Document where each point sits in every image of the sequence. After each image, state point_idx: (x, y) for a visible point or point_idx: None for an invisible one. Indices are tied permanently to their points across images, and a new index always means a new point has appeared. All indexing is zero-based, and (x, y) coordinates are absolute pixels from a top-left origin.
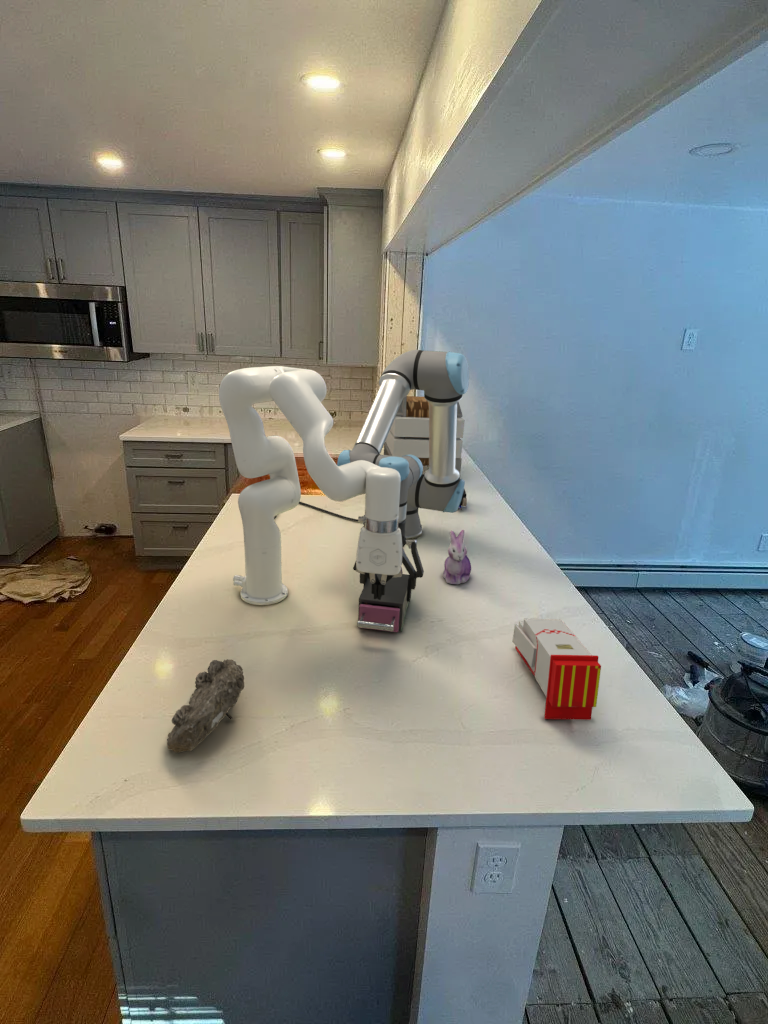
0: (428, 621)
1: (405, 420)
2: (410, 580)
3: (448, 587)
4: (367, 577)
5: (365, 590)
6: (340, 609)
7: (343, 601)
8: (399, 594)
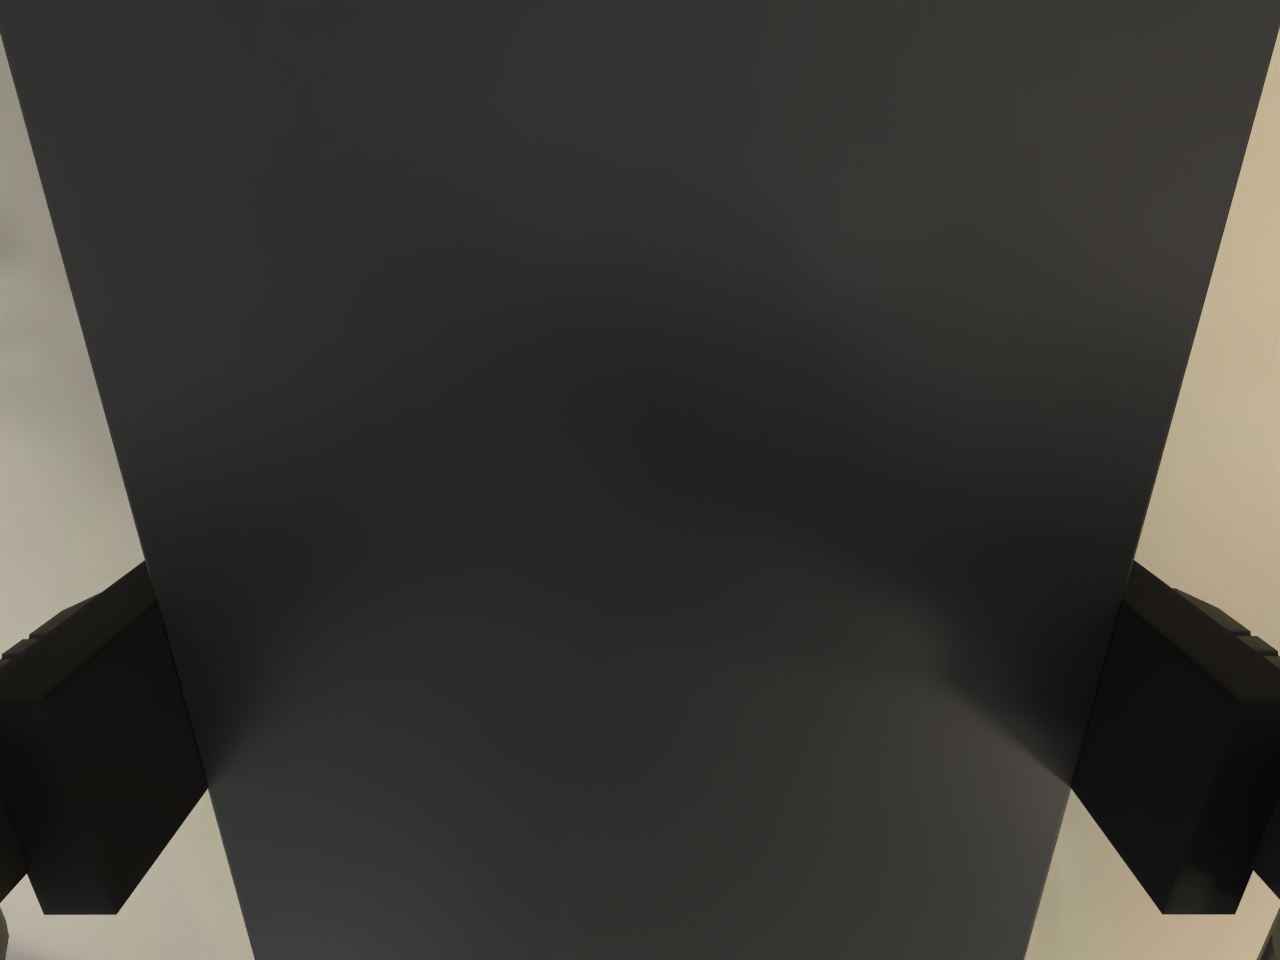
0: (43, 238)
1: None
2: (1, 681)
3: (108, 957)
4: (1106, 714)
5: (1185, 43)
6: (1223, 277)
7: (1174, 481)
8: (170, 37)
